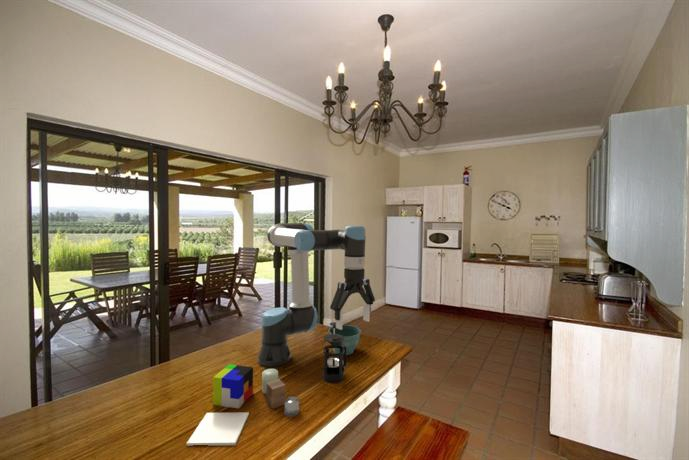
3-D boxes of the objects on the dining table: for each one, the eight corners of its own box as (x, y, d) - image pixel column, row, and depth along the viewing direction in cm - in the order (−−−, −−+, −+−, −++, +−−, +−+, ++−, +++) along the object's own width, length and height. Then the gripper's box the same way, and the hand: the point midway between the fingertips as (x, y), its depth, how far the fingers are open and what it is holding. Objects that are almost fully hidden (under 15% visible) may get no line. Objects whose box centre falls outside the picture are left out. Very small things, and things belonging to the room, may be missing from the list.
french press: (331, 386, 122) (331, 329, 121) (316, 377, 128) (317, 323, 128) (352, 376, 130) (352, 322, 129) (337, 368, 136) (338, 317, 136)
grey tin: (281, 411, 105) (281, 399, 105) (294, 405, 108) (294, 394, 108) (288, 418, 101) (288, 406, 101) (301, 412, 105) (301, 401, 104)
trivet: (186, 445, 89) (186, 442, 89) (206, 415, 103) (206, 412, 103) (235, 445, 89) (235, 442, 89) (248, 414, 103) (248, 412, 103)
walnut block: (266, 402, 110) (266, 383, 110) (278, 397, 113) (279, 379, 113) (272, 409, 106) (272, 389, 106) (285, 403, 110) (285, 384, 109)
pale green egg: (259, 389, 119) (259, 371, 118) (273, 384, 122) (273, 367, 122) (266, 396, 114) (266, 378, 114) (280, 391, 118) (280, 373, 118)
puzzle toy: (238, 408, 106) (238, 380, 106) (213, 404, 108) (213, 377, 108) (252, 392, 116) (252, 367, 116) (229, 389, 118) (229, 364, 118)
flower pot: (366, 349, 157) (366, 328, 156) (349, 361, 143) (349, 338, 143) (339, 342, 165) (340, 322, 165) (321, 353, 152) (322, 331, 151)
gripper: (334, 272, 101) (333, 335, 102) (384, 266, 117) (383, 320, 118) (321, 269, 107) (319, 328, 108) (371, 263, 123) (369, 315, 124)
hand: (353, 324), depth 113 cm, fingers open, 13 cm apart
